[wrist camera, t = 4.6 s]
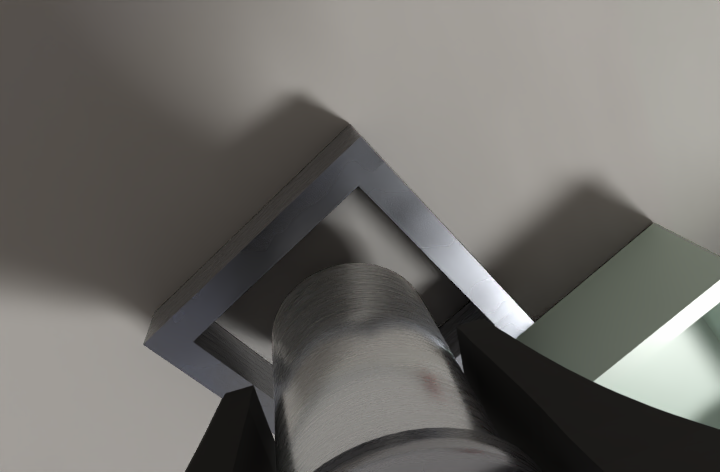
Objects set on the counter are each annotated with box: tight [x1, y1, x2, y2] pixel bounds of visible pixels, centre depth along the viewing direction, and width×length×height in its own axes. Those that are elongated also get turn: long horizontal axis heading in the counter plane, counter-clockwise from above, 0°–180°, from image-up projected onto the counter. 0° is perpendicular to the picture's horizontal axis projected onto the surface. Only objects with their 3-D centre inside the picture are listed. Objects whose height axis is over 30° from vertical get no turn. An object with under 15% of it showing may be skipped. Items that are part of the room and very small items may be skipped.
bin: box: [516, 223, 720, 429], centre depth 17 cm, size 10×10×3 cm
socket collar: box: [143, 124, 534, 434], centre depth 14 cm, size 7×7×2 cm
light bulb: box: [272, 263, 542, 472], centre depth 11 cm, size 5×5×7 cm
